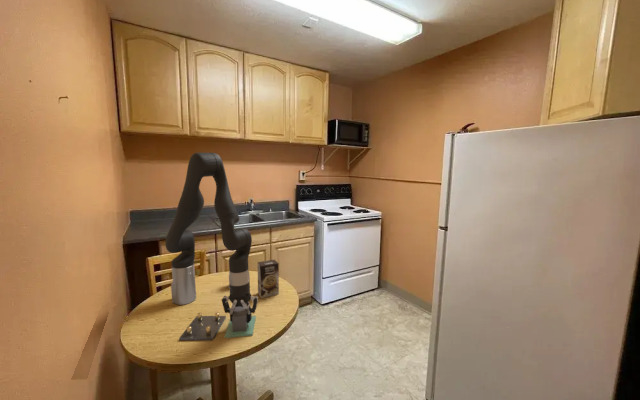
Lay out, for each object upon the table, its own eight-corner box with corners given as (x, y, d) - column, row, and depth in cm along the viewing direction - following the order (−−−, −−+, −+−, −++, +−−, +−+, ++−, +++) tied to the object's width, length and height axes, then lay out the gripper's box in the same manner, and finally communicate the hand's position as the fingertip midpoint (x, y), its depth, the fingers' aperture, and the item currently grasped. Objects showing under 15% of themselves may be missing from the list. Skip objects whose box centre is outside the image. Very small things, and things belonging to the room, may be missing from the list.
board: (224, 337, 97) (223, 320, 96) (231, 319, 109) (230, 303, 108) (252, 335, 98) (252, 318, 98) (255, 317, 110) (255, 302, 109)
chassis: (179, 340, 95) (178, 331, 95) (196, 318, 109) (196, 310, 109) (212, 340, 96) (212, 331, 95) (225, 318, 110) (225, 310, 109)
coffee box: (261, 298, 126) (260, 266, 124) (257, 292, 131) (256, 261, 129) (279, 294, 130) (278, 263, 128) (275, 288, 136) (274, 258, 133)
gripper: (217, 285, 97) (219, 327, 100) (256, 285, 98) (257, 327, 100) (224, 276, 105) (226, 316, 107) (260, 276, 105) (261, 316, 107)
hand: (241, 321), depth 103 cm, fingers closed on board, 5 cm apart
